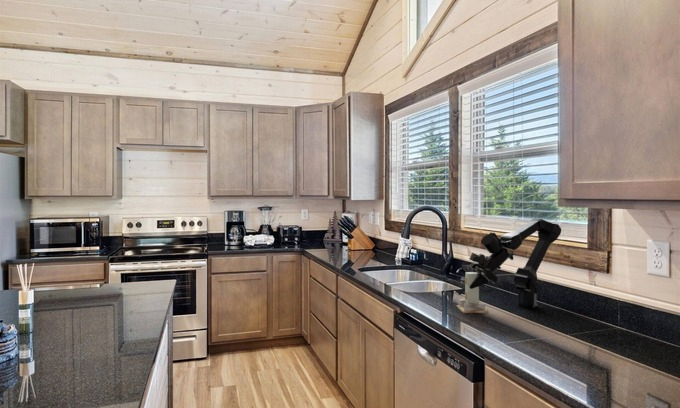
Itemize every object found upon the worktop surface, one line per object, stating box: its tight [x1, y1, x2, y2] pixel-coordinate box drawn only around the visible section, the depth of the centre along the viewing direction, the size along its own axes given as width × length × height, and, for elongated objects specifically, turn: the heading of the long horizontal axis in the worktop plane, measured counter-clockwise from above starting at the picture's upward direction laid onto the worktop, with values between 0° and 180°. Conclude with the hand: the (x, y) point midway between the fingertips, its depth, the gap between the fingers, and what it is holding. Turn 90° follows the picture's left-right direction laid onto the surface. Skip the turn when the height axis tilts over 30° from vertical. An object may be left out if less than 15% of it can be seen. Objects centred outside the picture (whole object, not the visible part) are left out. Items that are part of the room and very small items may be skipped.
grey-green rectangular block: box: [464, 271, 480, 303], centre depth 177 cm, size 5×4×12 cm
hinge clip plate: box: [456, 298, 489, 314], centre depth 177 cm, size 10×9×3 cm
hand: (468, 287), depth 177 cm, fingers closed on grey-green rectangular block, 3 cm apart
